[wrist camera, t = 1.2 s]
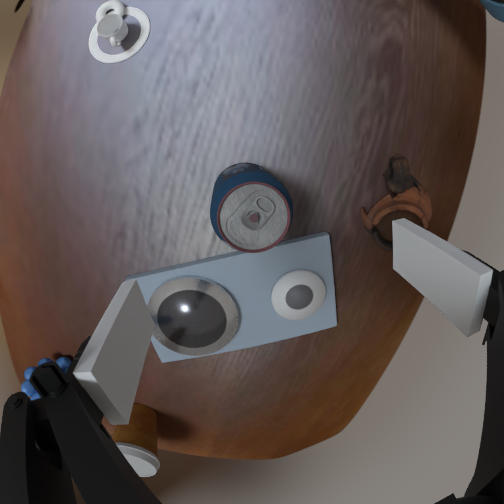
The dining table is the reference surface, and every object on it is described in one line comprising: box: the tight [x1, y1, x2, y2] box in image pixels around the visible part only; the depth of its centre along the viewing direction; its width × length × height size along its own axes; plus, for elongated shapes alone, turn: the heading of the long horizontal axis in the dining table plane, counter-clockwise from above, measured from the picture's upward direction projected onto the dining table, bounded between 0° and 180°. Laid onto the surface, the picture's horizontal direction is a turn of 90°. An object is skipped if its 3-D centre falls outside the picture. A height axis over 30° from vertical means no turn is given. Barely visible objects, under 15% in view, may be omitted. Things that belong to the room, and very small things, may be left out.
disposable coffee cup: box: [112, 404, 160, 477], centre depth 41 cm, size 10×10×12 cm
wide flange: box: [147, 275, 238, 356], centre depth 38 cm, size 12×12×1 cm
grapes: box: [21, 357, 72, 400], centre depth 36 cm, size 12×7×12 cm, turn 71°
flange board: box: [125, 232, 337, 363], centre depth 38 cm, size 26×14×2 cm, turn 102°
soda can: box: [210, 163, 293, 253], centre depth 29 cm, size 7×7×12 cm
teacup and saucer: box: [89, 0, 150, 63], centre depth 24 cm, size 9×8×4 cm
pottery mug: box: [361, 154, 432, 252], centre depth 34 cm, size 12×10×8 cm
